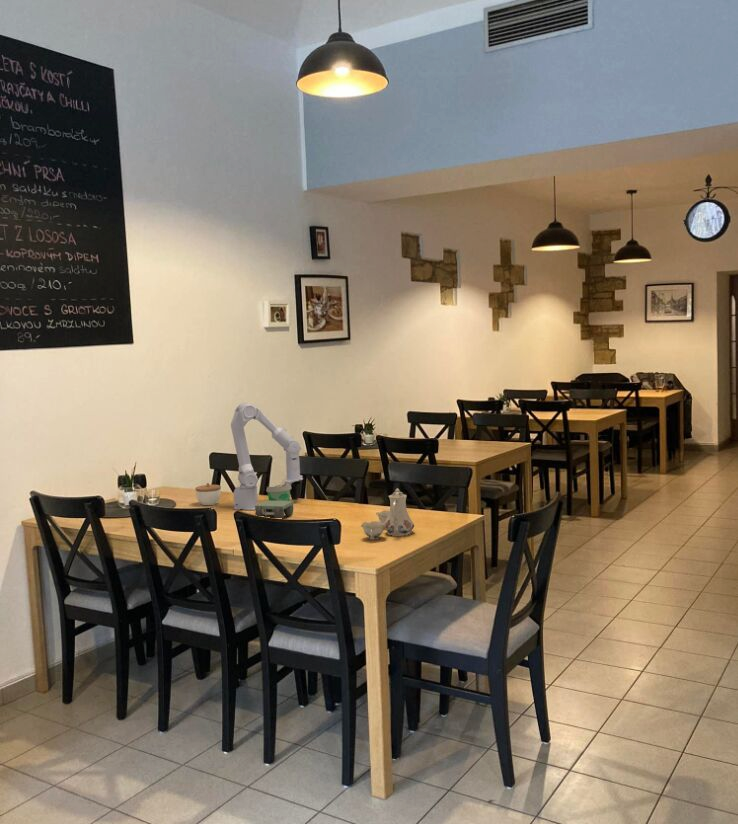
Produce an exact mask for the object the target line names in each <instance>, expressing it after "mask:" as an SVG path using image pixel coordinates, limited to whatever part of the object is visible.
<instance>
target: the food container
mask: <svg viewBox="0 0 738 824" xmlns="http://www.w3.org/2000/svg"><path fill="white" fill-rule="evenodd" d="M290 489H292V488H291V485H290V483H289V484H287V485H285V484H282V485H281V484H280V485H275V486H266V491H265V492H267V496H268V497H267V498H268V500H269V501H291V500H290V499H291V495H290Z"/></svg>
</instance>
